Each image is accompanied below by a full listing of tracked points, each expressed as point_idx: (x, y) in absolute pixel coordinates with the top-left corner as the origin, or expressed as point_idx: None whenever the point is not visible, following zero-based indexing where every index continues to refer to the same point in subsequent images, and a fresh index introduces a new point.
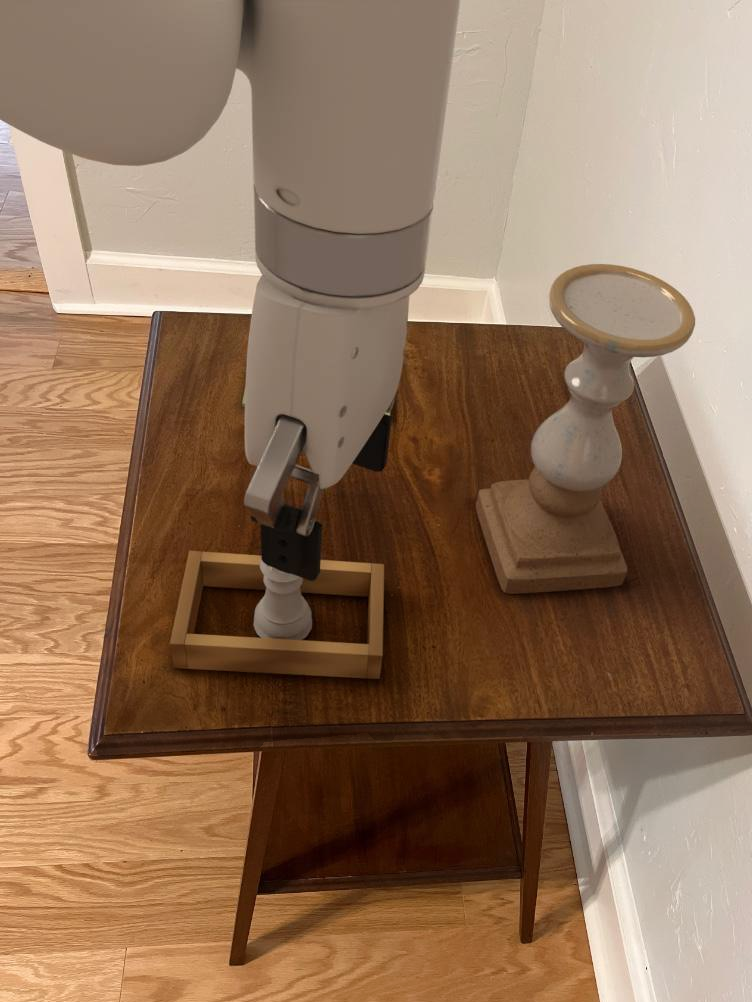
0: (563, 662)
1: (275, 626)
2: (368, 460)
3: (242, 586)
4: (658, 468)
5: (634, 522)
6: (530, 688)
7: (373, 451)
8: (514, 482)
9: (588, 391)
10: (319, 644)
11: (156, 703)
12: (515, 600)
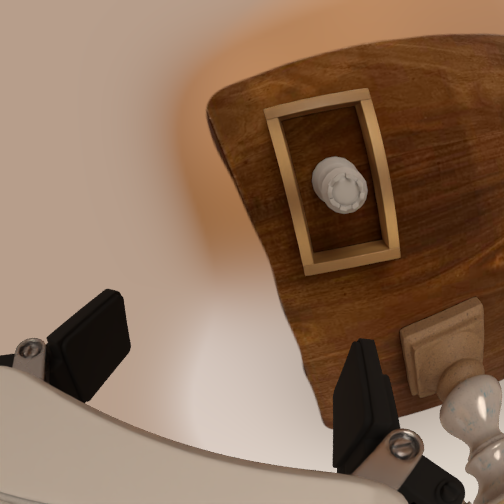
0: None
1: (317, 181)
2: (339, 391)
3: (363, 137)
4: None
5: None
6: (322, 353)
7: (337, 412)
8: (481, 333)
9: (476, 462)
10: (301, 226)
11: (234, 115)
12: (394, 336)
